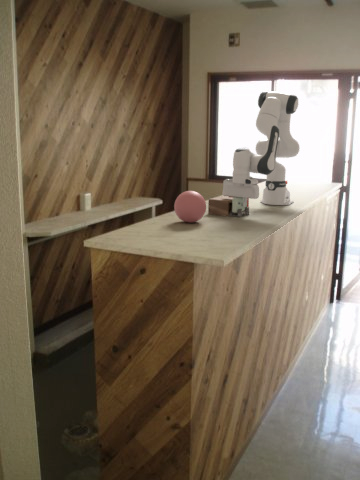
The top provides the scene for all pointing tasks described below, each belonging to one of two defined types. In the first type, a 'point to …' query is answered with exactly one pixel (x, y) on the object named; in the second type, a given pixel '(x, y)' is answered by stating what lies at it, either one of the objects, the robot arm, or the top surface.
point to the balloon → (190, 206)
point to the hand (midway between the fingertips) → (239, 205)
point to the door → (238, 204)
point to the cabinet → (224, 207)
